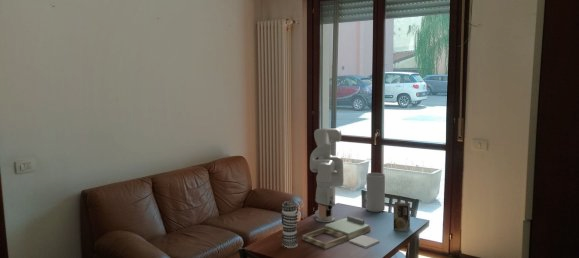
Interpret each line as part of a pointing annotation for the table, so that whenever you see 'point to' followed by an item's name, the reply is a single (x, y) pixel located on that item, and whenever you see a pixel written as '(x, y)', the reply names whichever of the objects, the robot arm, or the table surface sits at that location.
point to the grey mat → (364, 241)
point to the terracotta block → (323, 211)
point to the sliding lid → (348, 225)
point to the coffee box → (401, 216)
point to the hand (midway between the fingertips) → (324, 214)
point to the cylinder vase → (375, 192)
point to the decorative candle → (289, 224)
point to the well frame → (341, 235)
